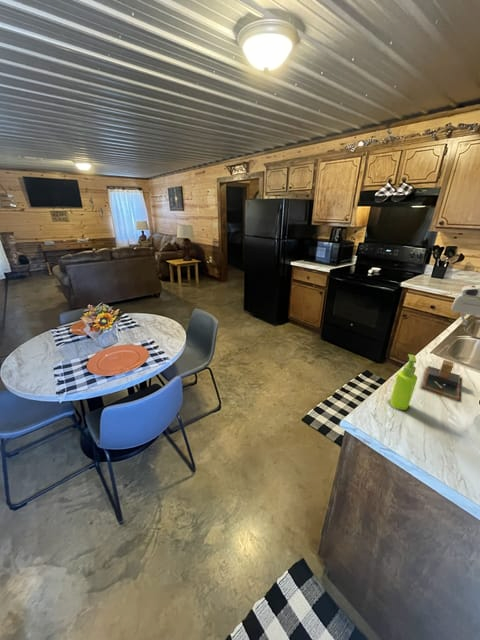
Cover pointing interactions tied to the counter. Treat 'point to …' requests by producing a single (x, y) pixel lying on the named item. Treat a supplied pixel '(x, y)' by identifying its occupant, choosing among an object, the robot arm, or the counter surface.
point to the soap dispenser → (404, 385)
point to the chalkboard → (441, 386)
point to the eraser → (444, 374)
